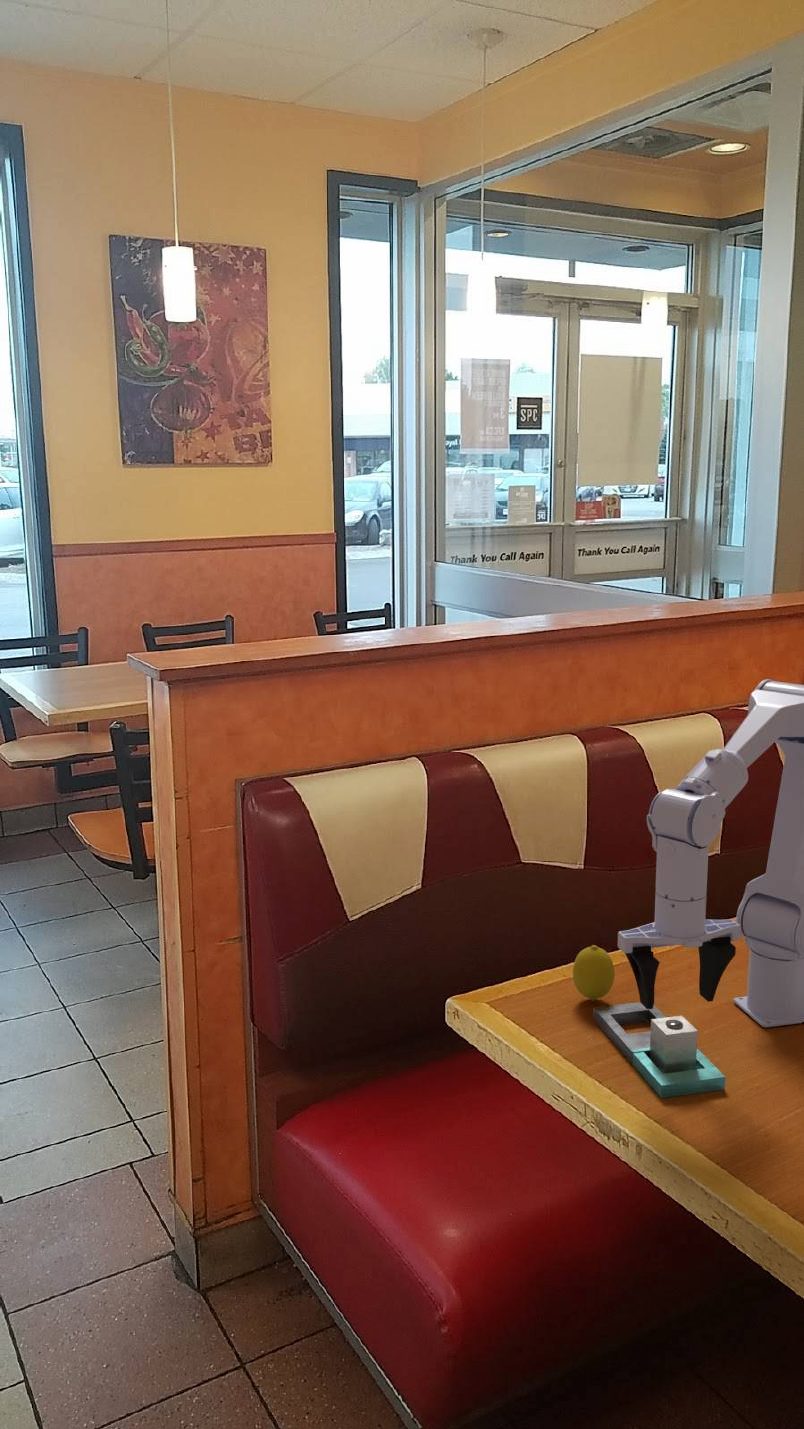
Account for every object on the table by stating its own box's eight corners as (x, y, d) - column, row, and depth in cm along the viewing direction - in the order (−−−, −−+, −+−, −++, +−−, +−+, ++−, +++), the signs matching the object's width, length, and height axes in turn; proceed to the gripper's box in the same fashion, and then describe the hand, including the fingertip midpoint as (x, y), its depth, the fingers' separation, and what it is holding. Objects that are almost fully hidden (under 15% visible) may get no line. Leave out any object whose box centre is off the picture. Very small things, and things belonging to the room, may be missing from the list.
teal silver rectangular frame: (649, 1012, 150) (650, 1000, 150) (724, 1089, 131) (725, 1075, 130) (593, 1018, 148) (593, 1007, 148) (661, 1098, 129) (661, 1084, 129)
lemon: (613, 1011, 150) (614, 955, 149) (571, 1008, 151) (572, 952, 150) (614, 993, 155) (615, 938, 154) (573, 990, 157) (574, 936, 155)
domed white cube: (679, 1061, 137) (681, 1013, 136) (695, 1077, 134) (697, 1029, 132) (649, 1065, 136) (651, 1017, 135) (664, 1081, 133) (666, 1033, 131)
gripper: (637, 911, 125) (633, 1024, 128) (756, 898, 128) (750, 1009, 131) (611, 889, 131) (608, 997, 134) (725, 877, 135) (720, 983, 137)
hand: (676, 1001), depth 133 cm, fingers open, 7 cm apart
